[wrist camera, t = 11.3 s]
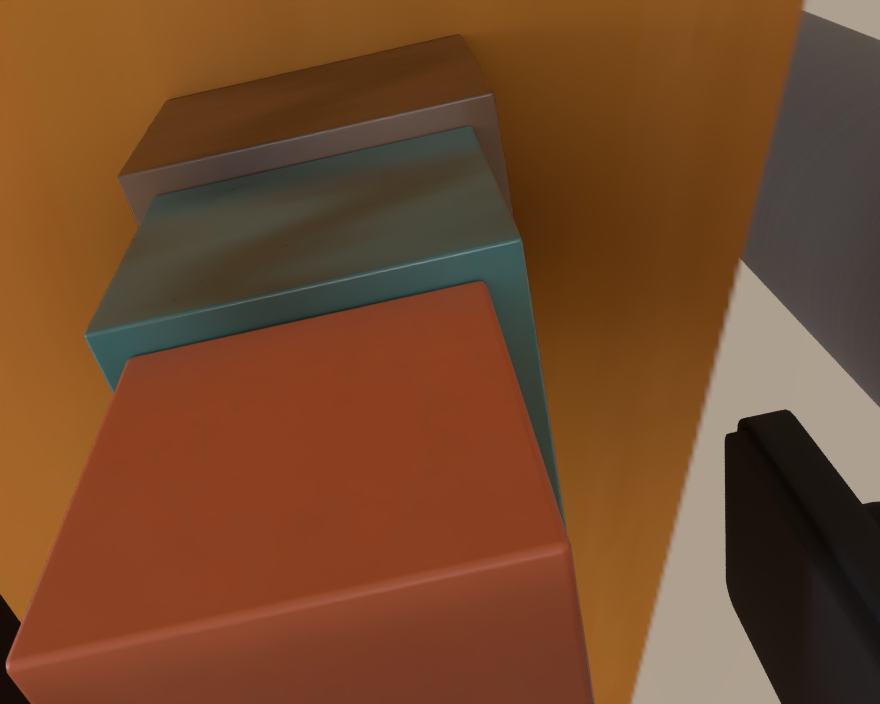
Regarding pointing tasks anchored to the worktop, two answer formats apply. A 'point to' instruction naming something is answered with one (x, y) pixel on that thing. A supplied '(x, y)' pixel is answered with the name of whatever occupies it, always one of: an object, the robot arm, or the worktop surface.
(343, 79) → the block stack
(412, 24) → the worktop surface
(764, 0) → the worktop surface
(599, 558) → the worktop surface
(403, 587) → the toy cube
